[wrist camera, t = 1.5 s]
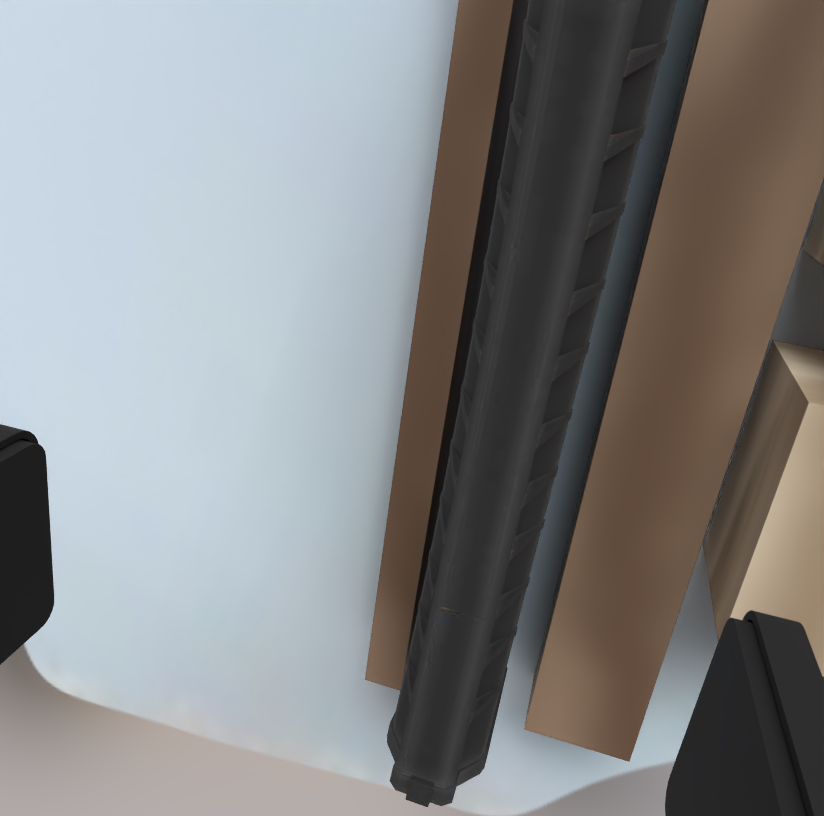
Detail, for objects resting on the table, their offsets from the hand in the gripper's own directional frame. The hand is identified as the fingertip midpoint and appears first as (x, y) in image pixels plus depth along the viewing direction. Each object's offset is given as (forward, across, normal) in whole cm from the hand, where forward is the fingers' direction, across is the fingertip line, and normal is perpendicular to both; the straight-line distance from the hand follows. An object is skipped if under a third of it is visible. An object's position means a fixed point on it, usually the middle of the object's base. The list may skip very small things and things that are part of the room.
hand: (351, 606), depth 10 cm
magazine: (+19, -1, 0) cm, 19 cm away
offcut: (+18, -11, +4) cm, 21 cm away
